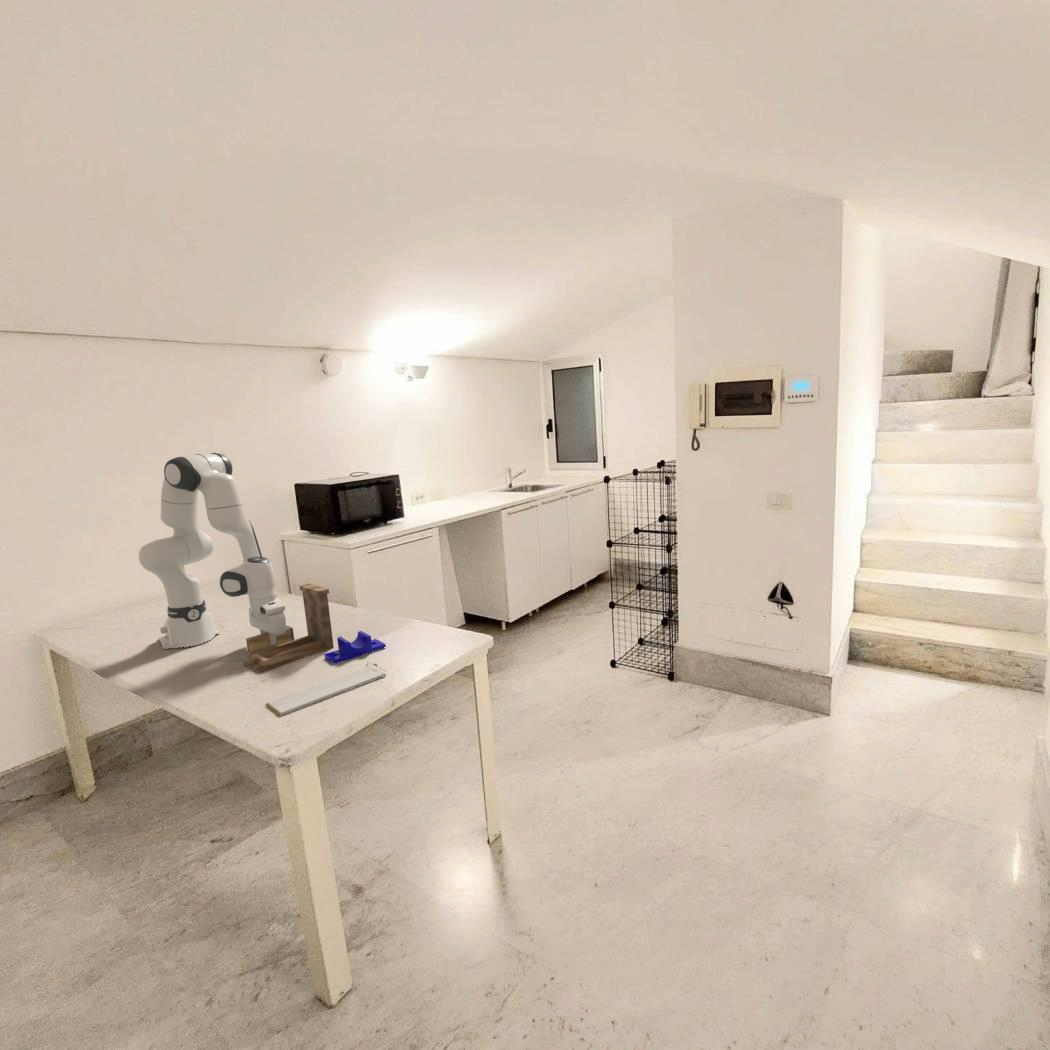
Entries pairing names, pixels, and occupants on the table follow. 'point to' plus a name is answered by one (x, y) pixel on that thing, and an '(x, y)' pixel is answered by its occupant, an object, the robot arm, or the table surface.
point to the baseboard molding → (324, 690)
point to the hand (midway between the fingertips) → (269, 642)
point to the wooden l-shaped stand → (304, 646)
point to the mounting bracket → (354, 648)
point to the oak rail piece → (262, 640)
